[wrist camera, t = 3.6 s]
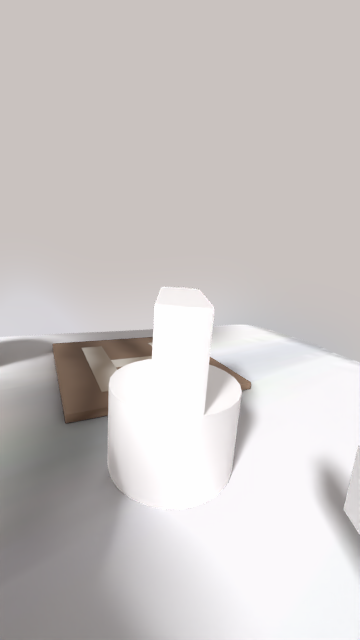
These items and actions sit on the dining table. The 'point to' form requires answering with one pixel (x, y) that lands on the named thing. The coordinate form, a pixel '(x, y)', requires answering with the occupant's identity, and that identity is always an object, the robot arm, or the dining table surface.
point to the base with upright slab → (174, 411)
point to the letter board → (101, 372)
